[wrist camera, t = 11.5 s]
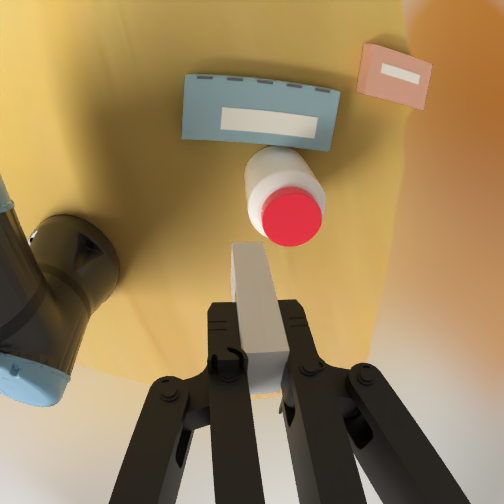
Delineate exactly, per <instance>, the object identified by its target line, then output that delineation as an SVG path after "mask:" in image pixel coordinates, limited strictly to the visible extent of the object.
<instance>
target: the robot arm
mask: <svg viewBox="0 0 504 504" xmlns="http://www.w3.org/2000/svg"><path fill="white" fill-rule="evenodd" d="M118 277H119V261H118V257H117V254H116V252H115V250H114V248H113V246H112V244H111V243H110V241H109V240H108V239H107V238H106V236H105V235H104V234H103V233H102V232H101V231H100V230H98V229H97V228H96V227H95V226H93V225H92V224H90V223H88V222H86V221H85V220H82V219H80V218H77V217H73V216H68V215H57V216H53V217H50V218H47V219H45V220H44V221H43V222H41V223H40V224H39V225H38V227H37V228H36V229H35V230H34V231H33V233H32V234H31V236H30V238H29V240H28V241H27V239H26V237H25V234H24V232H23V230H22V227H21V225H20V222H19V220H18V217H17V215H16V212H15V210H14V202H13V201H12V200H11V199H10V197H9V195H8V192H7V190H6V187H5V185H4V182H3V180H2V177H1V175H0V393H1V394H3V395H5V396H7V397H9V398H11V399H14V400H16V401H19V402H22V403H25V404H28V405H32V406H38V407H50V406H53V405H55V404H57V403H58V402H59V401H60V400H61V398H62V396H63V393H64V390H65V388H66V385H67V383H68V382H69V381H70V375H71V372H72V369H73V365H74V363H75V359H76V356H77V353H78V350H79V347H80V344H81V341H82V338H83V335H84V332H85V330H86V327H87V324H88V321H89V319H90V316H91V315H92V314H93V313H94V312H95V311H96V310H97V309H98V307H99V306H100V305H101V304H102V303H103V302H104V301H106V300H107V299H108V298H109V297H110V295H111V294H112V292H113V290H114V288H115V285H116V283H117V280H118ZM231 297H232V302H214V303H212V304H211V306H210V308H209V310H208V311H207V315H208V359H207V366H206V368H205V369H204V371H203V372H202V373H200V374H199V375H197V376H195V377H192V378H189V379H185V380H182V379H180V378H177V377H175V376H165V377H161V378H159V379H157V380H156V381H155V382H154V383H153V384H152V386H151V387H150V389H149V392H148V395H147V397H146V400H145V403H144V405H143V408H142V411H141V413H140V416H139V419H138V421H137V424H136V427H135V430H134V432H133V435H132V438H131V440H130V443H129V446H128V449H127V451H126V454H125V457H124V460H123V463H122V466H121V469H120V471H119V474H118V477H117V480H116V483H115V486H114V489H113V492H112V495H111V498H110V501H109V504H175V503H176V499H177V495H178V491H179V487H180V483H181V479H182V475H183V472H184V468H185V464H186V460H187V456H188V452H189V449H190V445H191V441H192V437H193V433H194V430H195V429H198V428H201V427H204V426H207V425H210V426H211V427H210V429H211V446H212V461H213V477H214V491H215V503H216V504H265V500H264V493H263V486H262V479H261V473H260V465H259V458H258V452H257V443H256V437H255V429H254V421H253V414H252V406H251V399H250V394H265V393H278V392H279V391H280V387H281V389H282V395H283V397H282V401H281V404H280V408H279V414H281V413H282V411H283V416H284V421H285V427H286V432H287V438H288V443H289V449H290V454H291V459H292V464H293V470H294V475H295V481H296V486H297V492H298V497H299V502H300V504H367V502H366V498H365V495H364V491H363V487H362V483H361V479H360V476H359V472H358V469H357V465H356V461H355V458H354V455H355V456H356V458H357V460H358V462H359V464H360V465H361V467H362V468H363V470H364V472H365V474H366V475H367V477H368V479H369V480H370V482H371V484H372V486H373V487H374V489H375V491H376V492H377V494H378V495H379V497H380V499H381V501H382V502H383V504H471V503H470V502H469V500H468V499H467V497H466V496H465V494H464V493H463V491H462V490H461V488H460V486H459V485H458V483H457V482H456V480H455V479H454V477H453V476H452V474H451V473H450V471H449V470H448V468H447V467H446V465H445V464H444V462H443V461H442V459H441V458H440V457H439V455H438V454H437V452H436V450H435V449H434V447H433V446H432V445H431V443H430V442H429V440H428V439H427V437H426V436H425V434H424V433H423V432H422V430H421V429H420V427H419V426H418V424H417V423H416V421H415V420H414V418H413V417H412V416H411V414H410V413H409V411H408V410H407V408H406V407H405V406H404V404H403V403H402V401H401V400H400V398H399V397H398V396H397V394H396V393H395V391H394V390H393V389H392V387H391V386H390V385H389V383H388V382H387V380H386V379H385V378H384V376H383V375H382V373H381V372H380V371H379V370H378V369H377V368H376V367H375V366H373V365H371V364H368V363H359V364H356V365H354V366H353V367H352V368H351V370H349V369H343V368H337V367H333V366H330V365H328V364H326V363H325V361H324V360H322V359H321V358H320V357H319V355H318V353H317V350H316V347H315V344H314V341H313V337H312V334H311V331H310V328H309V326H308V322H307V319H306V315H305V312H304V309H303V307H302V306H301V305H300V304H299V302H298V301H297V300H296V299H293V300H277V297H276V292H275V288H274V284H273V280H272V276H271V272H270V268H269V264H268V260H267V256H266V252H265V248H264V244H263V242H232V254H231ZM353 453H354V454H353Z"/></svg>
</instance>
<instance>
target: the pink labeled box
mask: <svg viewBox="0 0 504 504" xmlns="http://www.w3.org/2000/svg"><path fill="white" fill-rule="evenodd" d="M431 71H432V64H430V63H428V62H425V61H423V60H420V59H417V58H415V57H412V56H409V55H406V54H403V53H401V52H398V51H395V50H392V49H389V48H385V47H382V46H379V45H376V44H364V46H363V52H362V59H361V65H360V71H359V77H358V83H357V88H356V91H357V92H359V93H362V94H365V95H369V96H373V97H377V98H381V99H385V100H389V101H393V102H396V103H400V104H403V105H407V106H410V107H413V108H416V109H420V110H424V106H425V101H426V96H427V91H428V87H429V81H430V76H431Z"/></svg>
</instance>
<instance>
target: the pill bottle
mask: <svg viewBox="0 0 504 504" xmlns="http://www.w3.org/2000/svg"><path fill="white" fill-rule="evenodd" d="M244 182H245V191H246V199H247V208H248V215H249V218H250V221H251V223H252V224H253V226H254V227H255V229H256V230H257V231H258V232H259V233H260V234H262V235H264V236H265V237H267V238H269V239H270V240H271V241H273V242H274V243H276V244H279V245H282V246H297V245H300V244H303V243H305V242H307V241H309V240H310V239H311V238H312V237H313V236H314V235H315V234H316V233H317V232H318V230H319V228H320V226H321V222H322V219H323V216H324V214H325V210H326V197H325V193H324V191H323V189H322V186H321V185H320V183H319V182H318V180H317V178H316V177H315V175H314V174H313V172H312V171H311V169H310V168H309V166H308V165H307V163H306V162H305V160H304V159H303V158H302V156H301V155H300V154H299V153H297V152H296V151H295V150H293V149H291V148H288V147H285V146H270V147H266V148H264V149H262V150H260V151H258V152H257V153H256V154H254V155H253V156H252V157H251V159H250V160H249V161H248V163H247V165H246V168H245V171H244Z"/></svg>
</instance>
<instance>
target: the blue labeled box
mask: <svg viewBox="0 0 504 504" xmlns="http://www.w3.org/2000/svg"><path fill="white" fill-rule="evenodd" d="M339 98H340V91H337V90H335V89H331V88H325V87H320V86H314V85H308V84H302V83H295V82H288V81H281V80H273V79H264V78H255V77H244V76H231V75H215V74H186V75H185V84H184V100H183V119H182V139H189V140H212V141H229V142H243V143H255V144H266V145H276V146H286V147H295V148H303V149H311V150H318V151H326V152H329V151H330V146H331V141H332V136H333V131H334V126H335V120H336V115H337V109H338V104H339Z"/></svg>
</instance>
